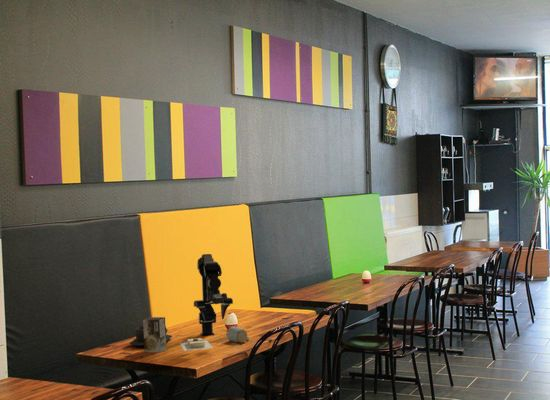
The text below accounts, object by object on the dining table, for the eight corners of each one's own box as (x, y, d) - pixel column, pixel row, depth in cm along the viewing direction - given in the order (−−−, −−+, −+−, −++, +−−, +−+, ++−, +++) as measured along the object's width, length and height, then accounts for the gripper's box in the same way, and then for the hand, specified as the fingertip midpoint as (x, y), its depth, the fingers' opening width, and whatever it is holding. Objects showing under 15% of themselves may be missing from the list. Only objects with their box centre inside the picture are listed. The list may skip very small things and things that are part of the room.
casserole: (152, 337, 391) (151, 321, 391) (180, 339, 382) (180, 323, 382) (121, 347, 369) (120, 330, 369) (150, 350, 360) (149, 333, 360)
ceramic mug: (237, 344, 366) (237, 329, 366) (226, 342, 372) (226, 327, 371) (253, 341, 373) (253, 326, 373) (242, 339, 379) (242, 324, 379)
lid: (187, 343, 369) (187, 337, 369) (201, 342, 371) (201, 336, 371) (190, 348, 358) (190, 341, 358) (204, 347, 360) (204, 340, 360)
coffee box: (167, 350, 359) (165, 317, 359) (160, 353, 353) (159, 319, 353) (150, 349, 362) (149, 316, 362) (143, 352, 356) (142, 319, 356)
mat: (179, 344, 372) (179, 343, 372) (207, 341, 375) (207, 340, 375) (184, 351, 354) (184, 350, 354) (213, 349, 358) (213, 348, 358)
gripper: (201, 290, 352) (202, 323, 351) (236, 287, 361) (238, 319, 360) (192, 289, 362) (194, 321, 361) (227, 286, 371) (229, 317, 370)
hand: (214, 319), depth 363 cm, fingers open, 9 cm apart
